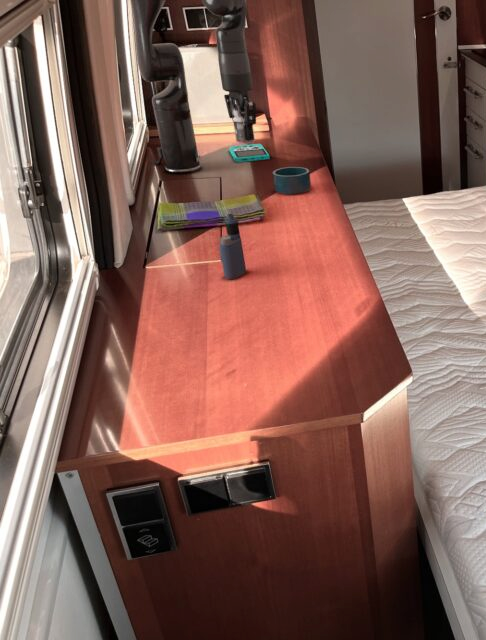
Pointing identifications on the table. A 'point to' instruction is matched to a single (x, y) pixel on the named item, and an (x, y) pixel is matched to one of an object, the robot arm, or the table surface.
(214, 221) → the dish towel
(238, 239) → the vaping device
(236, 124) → the pill bottle
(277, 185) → the bowl
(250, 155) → the handheld game console
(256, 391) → the table surface
